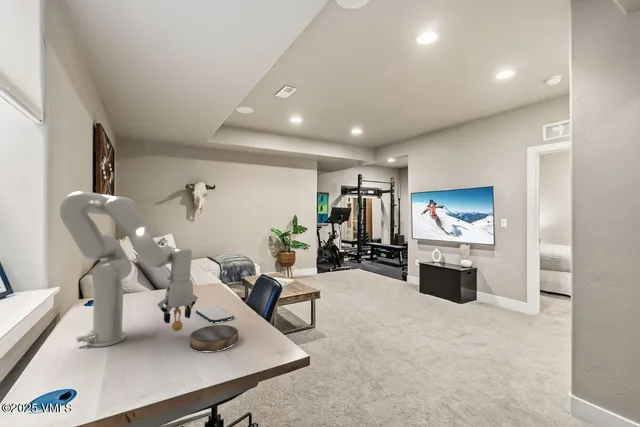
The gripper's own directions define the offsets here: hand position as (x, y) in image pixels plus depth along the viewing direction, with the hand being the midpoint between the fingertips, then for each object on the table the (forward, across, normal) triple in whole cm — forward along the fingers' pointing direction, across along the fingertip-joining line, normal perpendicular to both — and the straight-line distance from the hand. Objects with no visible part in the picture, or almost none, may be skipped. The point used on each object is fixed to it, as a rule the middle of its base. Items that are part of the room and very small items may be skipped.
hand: (177, 319), depth 123 cm
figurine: (+4, 0, 0) cm, 4 cm away
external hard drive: (+7, +25, +10) cm, 28 cm away
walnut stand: (+6, +6, -18) cm, 20 cm away
